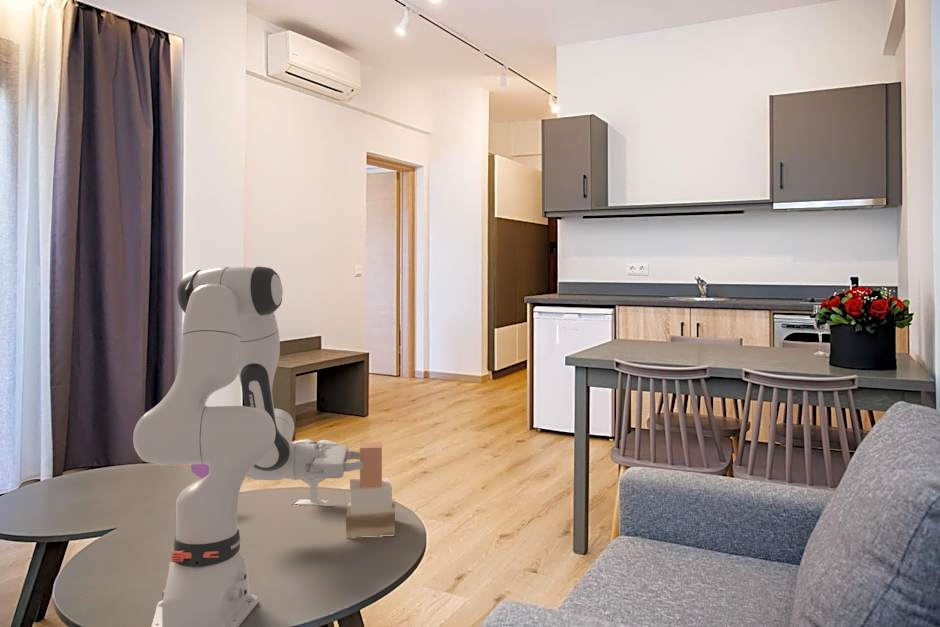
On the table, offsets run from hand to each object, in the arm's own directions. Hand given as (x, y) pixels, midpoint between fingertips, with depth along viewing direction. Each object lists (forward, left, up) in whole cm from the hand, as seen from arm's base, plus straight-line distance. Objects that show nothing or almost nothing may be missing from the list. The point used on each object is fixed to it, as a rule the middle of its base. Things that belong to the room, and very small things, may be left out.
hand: (364, 460), depth 176 cm
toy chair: (+19, +43, -18) cm, 50 cm away
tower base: (0, -2, -18) cm, 18 cm away
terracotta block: (0, -2, -6) cm, 7 cm away
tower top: (+1, -2, -12) cm, 12 cm away
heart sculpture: (+23, +15, -18) cm, 33 cm away
